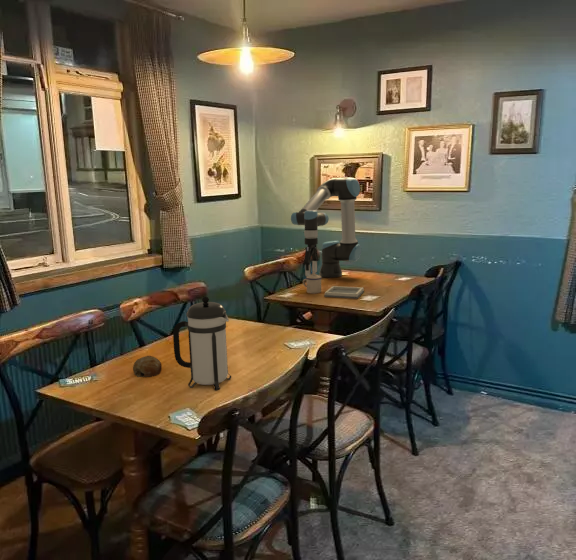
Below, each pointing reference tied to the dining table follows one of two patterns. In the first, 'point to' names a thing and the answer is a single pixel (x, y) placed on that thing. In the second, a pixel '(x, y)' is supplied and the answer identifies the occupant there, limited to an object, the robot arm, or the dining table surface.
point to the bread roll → (147, 367)
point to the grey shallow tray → (344, 292)
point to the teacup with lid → (313, 283)
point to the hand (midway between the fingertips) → (311, 274)
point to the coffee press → (205, 343)
